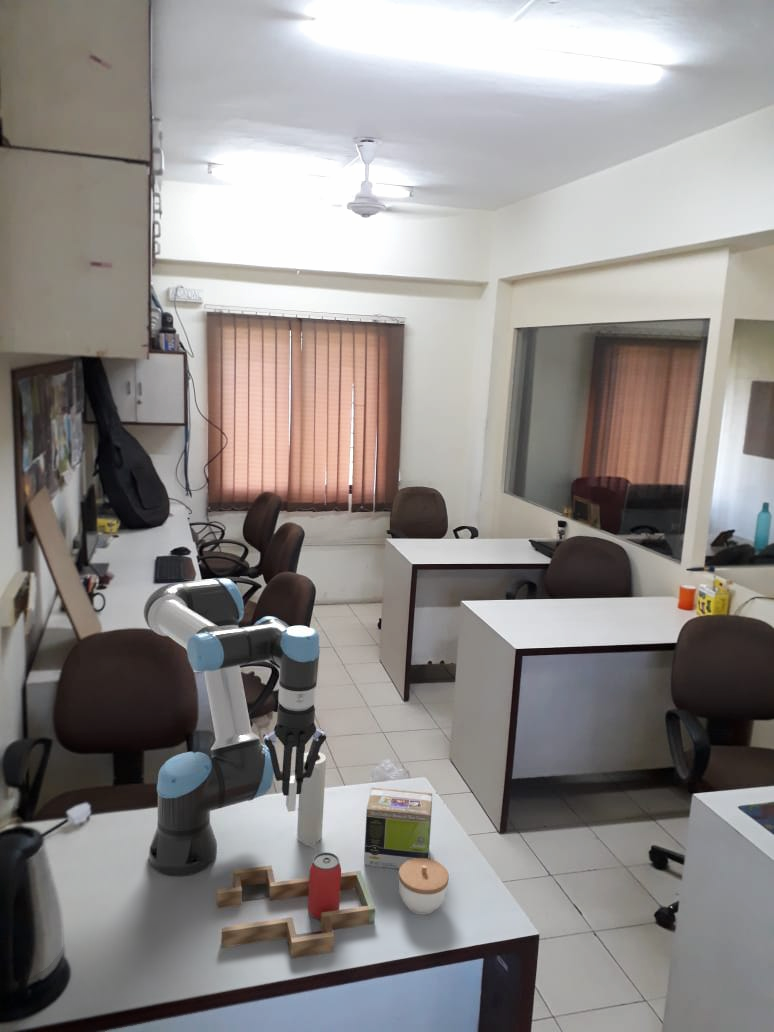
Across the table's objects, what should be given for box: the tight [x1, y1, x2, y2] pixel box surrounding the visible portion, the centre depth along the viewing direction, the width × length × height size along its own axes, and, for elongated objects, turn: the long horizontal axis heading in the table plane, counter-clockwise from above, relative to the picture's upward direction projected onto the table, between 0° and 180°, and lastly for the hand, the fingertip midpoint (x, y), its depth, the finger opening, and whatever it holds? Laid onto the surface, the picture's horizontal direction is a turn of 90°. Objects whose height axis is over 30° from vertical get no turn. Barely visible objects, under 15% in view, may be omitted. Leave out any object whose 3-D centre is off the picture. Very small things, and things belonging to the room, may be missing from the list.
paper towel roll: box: [296, 751, 327, 850], centre depth 184 cm, size 7×6×21 cm
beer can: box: [307, 851, 342, 921], centre depth 161 cm, size 7×7×12 cm
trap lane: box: [216, 864, 376, 959], centre depth 160 cm, size 31×24×4 cm
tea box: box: [363, 787, 433, 869], centre depth 180 cm, size 15×10×15 cm, turn 84°
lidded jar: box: [398, 858, 450, 916], centre depth 165 cm, size 11×11×9 cm
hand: (290, 807), depth 159 cm, fingers closed
